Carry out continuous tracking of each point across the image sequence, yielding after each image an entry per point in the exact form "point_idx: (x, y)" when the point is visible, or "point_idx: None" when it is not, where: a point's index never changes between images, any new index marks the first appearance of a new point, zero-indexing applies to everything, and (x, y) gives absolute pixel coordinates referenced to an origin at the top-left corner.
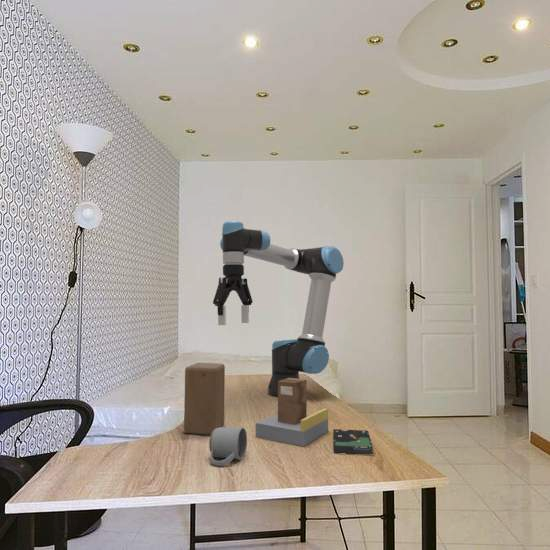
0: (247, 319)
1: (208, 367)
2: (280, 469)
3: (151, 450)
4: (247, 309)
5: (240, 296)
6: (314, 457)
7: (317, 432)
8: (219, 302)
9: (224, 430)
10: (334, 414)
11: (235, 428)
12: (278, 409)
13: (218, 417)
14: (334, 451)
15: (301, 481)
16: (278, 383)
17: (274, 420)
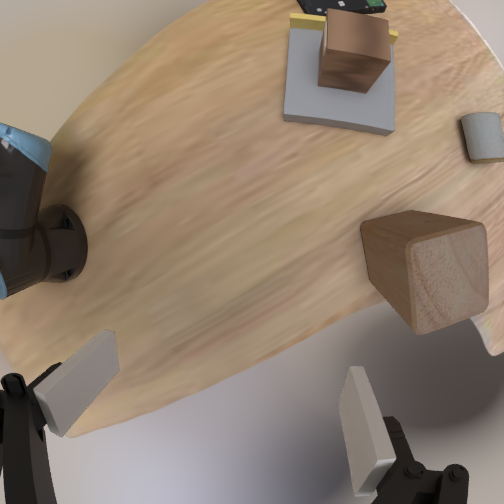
0: (103, 341)
1: (485, 246)
2: (467, 65)
3: (489, 260)
4: (63, 376)
5: (48, 488)
6: (413, 31)
7: None
8: (462, 470)
9: (502, 138)
10: (166, 68)
11: (496, 122)
12: (371, 84)
13: (406, 215)
14: (384, 10)
15: (475, 40)
16: (389, 62)
17: (360, 103)
